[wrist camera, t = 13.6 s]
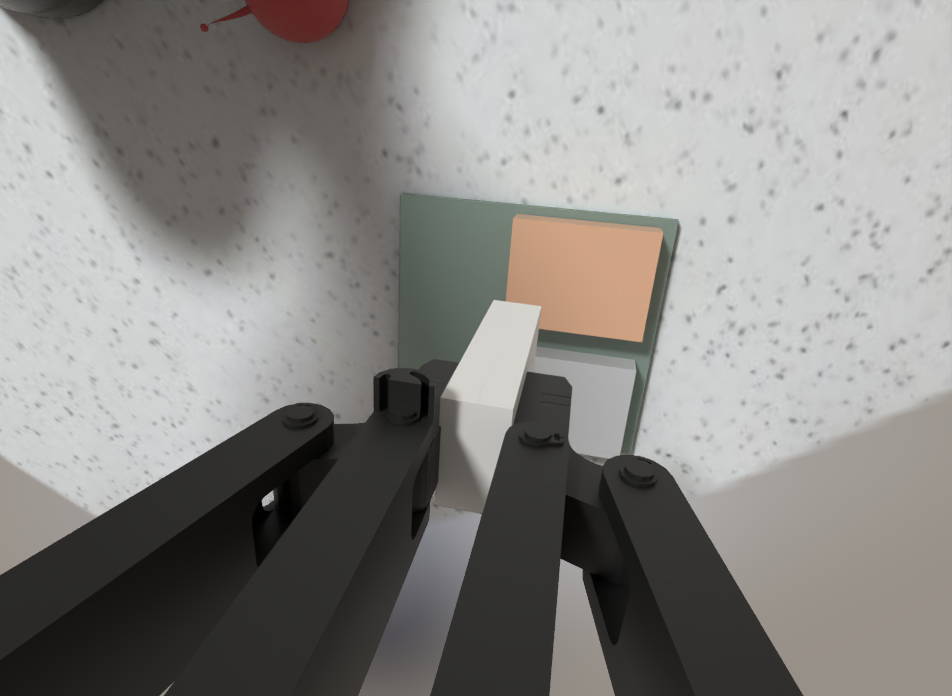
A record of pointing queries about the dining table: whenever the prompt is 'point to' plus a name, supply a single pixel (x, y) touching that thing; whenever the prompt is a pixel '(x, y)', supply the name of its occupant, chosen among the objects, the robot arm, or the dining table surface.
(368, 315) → the dining table surface
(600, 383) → the white flat block
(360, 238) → the dining table surface
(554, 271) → the terracotta tile
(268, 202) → the dining table surface
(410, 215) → the mat
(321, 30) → the fruit
